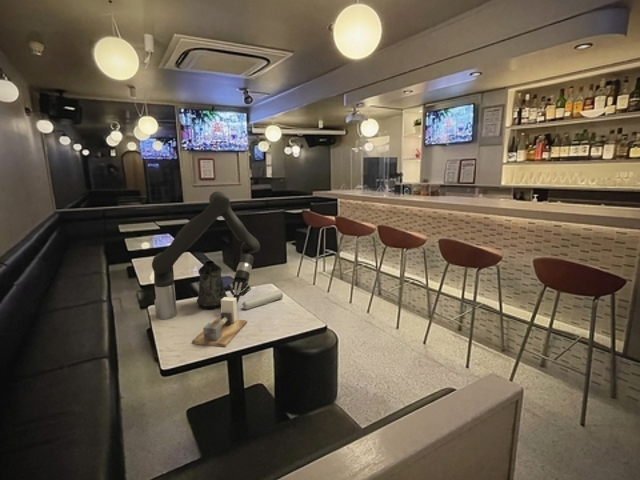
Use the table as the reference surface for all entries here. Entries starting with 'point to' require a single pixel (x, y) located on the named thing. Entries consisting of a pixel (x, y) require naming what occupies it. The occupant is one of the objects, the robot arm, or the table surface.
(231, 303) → the sleeve
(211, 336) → the pipe stand
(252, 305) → the tube
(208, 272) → the beer stein
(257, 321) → the table surface
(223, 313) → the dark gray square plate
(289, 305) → the table surface
